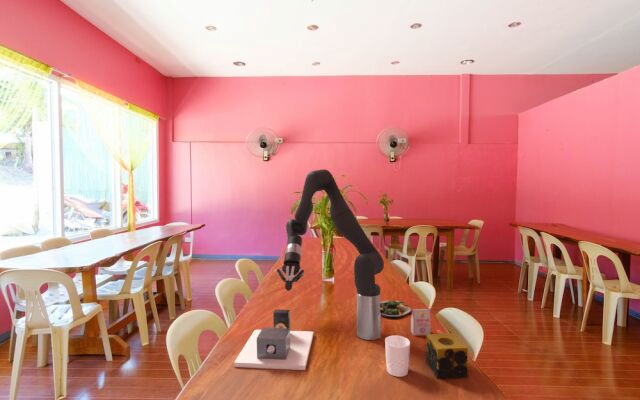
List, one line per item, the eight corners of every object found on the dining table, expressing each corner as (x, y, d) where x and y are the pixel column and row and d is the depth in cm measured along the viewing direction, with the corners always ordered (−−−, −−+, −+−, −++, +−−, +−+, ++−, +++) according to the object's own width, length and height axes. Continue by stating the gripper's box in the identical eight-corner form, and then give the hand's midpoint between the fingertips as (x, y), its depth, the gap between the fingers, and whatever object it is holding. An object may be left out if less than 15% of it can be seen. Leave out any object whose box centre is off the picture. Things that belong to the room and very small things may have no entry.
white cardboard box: (410, 331, 134) (411, 307, 133) (427, 331, 134) (427, 307, 133) (413, 335, 130) (413, 311, 129) (430, 335, 130) (430, 311, 129)
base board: (313, 335, 131) (313, 331, 131) (305, 370, 107) (305, 365, 107) (255, 333, 133) (255, 329, 133) (234, 366, 109) (234, 362, 109)
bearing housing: (290, 347, 119) (289, 328, 118) (285, 359, 111) (285, 339, 110) (263, 346, 119) (262, 327, 119) (257, 358, 112) (256, 338, 111)
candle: (454, 360, 112) (455, 332, 111) (469, 378, 102) (469, 347, 101) (425, 361, 112) (425, 333, 111) (436, 379, 101) (437, 348, 101)
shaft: (290, 332, 130) (290, 309, 129) (279, 359, 110) (278, 333, 109) (275, 331, 130) (275, 309, 130) (261, 358, 110) (261, 333, 110)
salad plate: (392, 300, 169) (392, 291, 168) (420, 311, 154) (420, 302, 153) (363, 308, 158) (363, 299, 158) (390, 322, 143) (390, 311, 143)
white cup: (392, 380, 101) (392, 349, 101) (380, 366, 109) (380, 337, 108) (414, 375, 103) (414, 345, 103) (401, 362, 111) (402, 333, 110)
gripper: (277, 250, 150) (271, 285, 139) (306, 251, 149) (302, 286, 137) (280, 259, 156) (274, 293, 144) (307, 259, 154) (304, 294, 143)
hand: (288, 290), depth 141 cm, fingers closed
